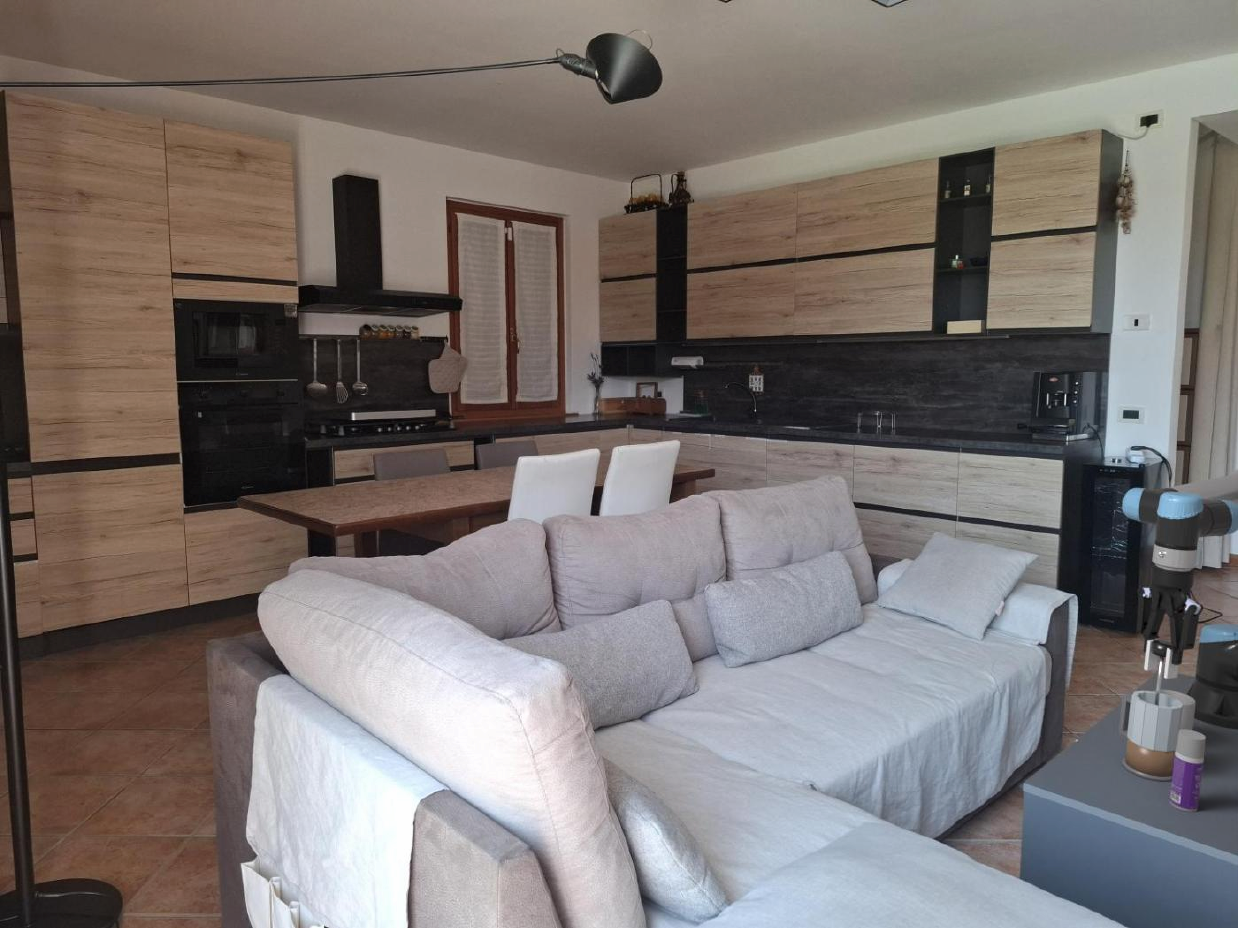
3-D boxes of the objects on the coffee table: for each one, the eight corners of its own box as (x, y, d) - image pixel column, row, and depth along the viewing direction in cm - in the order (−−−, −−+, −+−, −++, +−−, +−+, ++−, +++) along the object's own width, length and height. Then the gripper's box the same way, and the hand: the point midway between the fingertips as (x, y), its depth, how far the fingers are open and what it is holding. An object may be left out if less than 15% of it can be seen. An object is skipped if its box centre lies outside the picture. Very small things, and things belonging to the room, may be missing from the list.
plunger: (1152, 714, 183) (1162, 637, 180) (1178, 726, 177) (1187, 646, 174) (1131, 717, 181) (1140, 639, 178) (1156, 729, 175) (1165, 649, 173)
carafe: (1136, 750, 189) (1144, 683, 187) (1188, 778, 177) (1197, 706, 175) (1101, 755, 186) (1109, 687, 184) (1151, 784, 174) (1160, 711, 172)
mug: (1184, 754, 188) (1189, 707, 186) (1141, 740, 194) (1146, 695, 193) (1199, 738, 196) (1205, 694, 194) (1158, 725, 202) (1163, 682, 201)
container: (1198, 814, 163) (1207, 742, 161) (1169, 806, 166) (1178, 735, 163) (1196, 803, 167) (1205, 732, 165) (1168, 796, 170) (1177, 726, 167)
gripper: (1123, 557, 181) (1112, 660, 184) (1197, 578, 165) (1183, 691, 168) (1150, 555, 183) (1138, 657, 186) (1226, 576, 167) (1212, 687, 170)
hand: (1160, 673), depth 177 cm, fingers closed on plunger, 4 cm apart
